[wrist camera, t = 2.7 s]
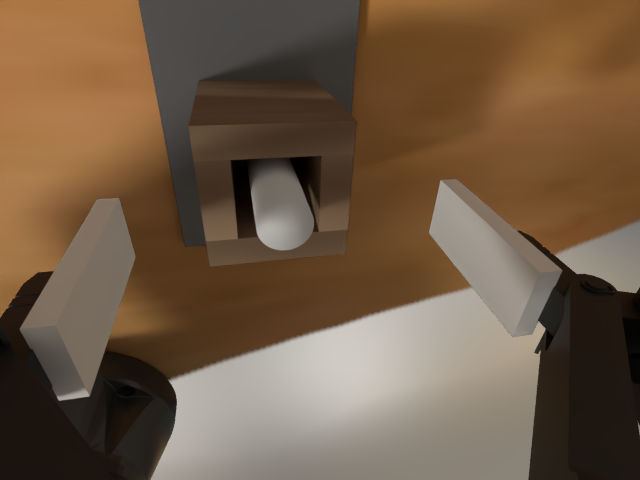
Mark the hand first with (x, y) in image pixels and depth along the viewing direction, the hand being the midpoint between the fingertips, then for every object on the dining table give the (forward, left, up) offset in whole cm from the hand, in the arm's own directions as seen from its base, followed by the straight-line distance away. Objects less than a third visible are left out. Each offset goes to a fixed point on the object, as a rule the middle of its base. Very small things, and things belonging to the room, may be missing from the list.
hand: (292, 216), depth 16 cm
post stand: (0, 0, -12) cm, 12 cm away
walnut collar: (0, 0, -11) cm, 11 cm away
